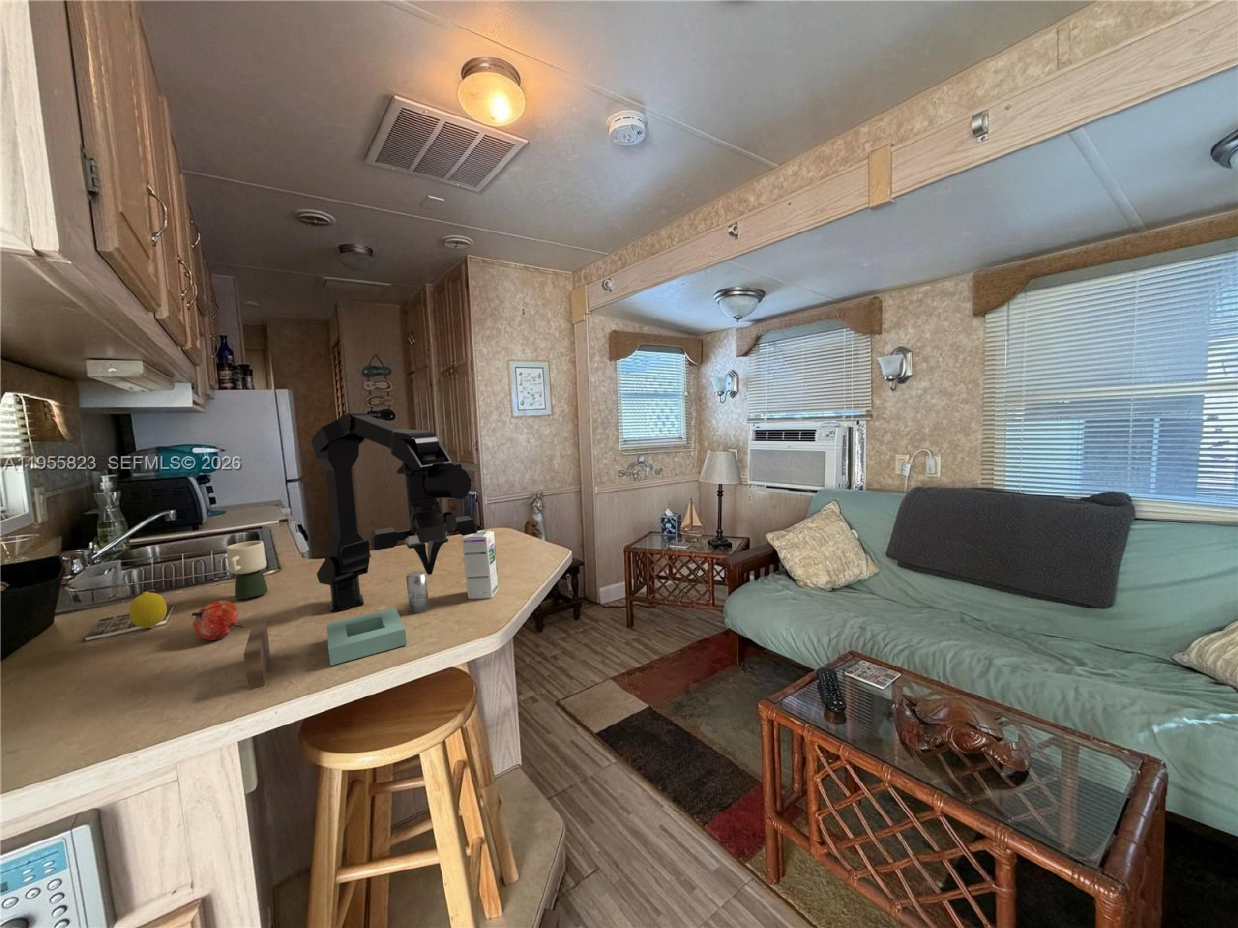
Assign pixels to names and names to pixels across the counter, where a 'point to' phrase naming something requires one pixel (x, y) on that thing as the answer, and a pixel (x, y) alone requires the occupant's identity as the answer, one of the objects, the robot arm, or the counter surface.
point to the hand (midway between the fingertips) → (429, 574)
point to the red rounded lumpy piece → (215, 620)
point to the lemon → (147, 610)
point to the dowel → (417, 592)
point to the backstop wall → (257, 656)
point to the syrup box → (480, 565)
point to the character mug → (248, 568)
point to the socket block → (365, 635)
